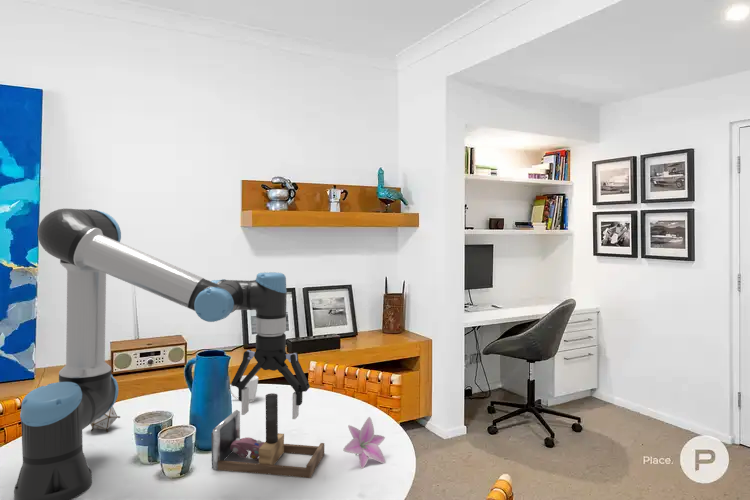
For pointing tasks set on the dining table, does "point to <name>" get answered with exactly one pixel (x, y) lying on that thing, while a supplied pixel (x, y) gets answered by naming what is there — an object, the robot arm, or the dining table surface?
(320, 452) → the brown flat rectangular frame
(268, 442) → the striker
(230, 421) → the grey tablet
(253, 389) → the cup
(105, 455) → the dining table surface
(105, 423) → the game die
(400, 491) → the dining table surface
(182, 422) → the dining table surface
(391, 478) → the dining table surface
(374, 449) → the lily
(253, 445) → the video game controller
